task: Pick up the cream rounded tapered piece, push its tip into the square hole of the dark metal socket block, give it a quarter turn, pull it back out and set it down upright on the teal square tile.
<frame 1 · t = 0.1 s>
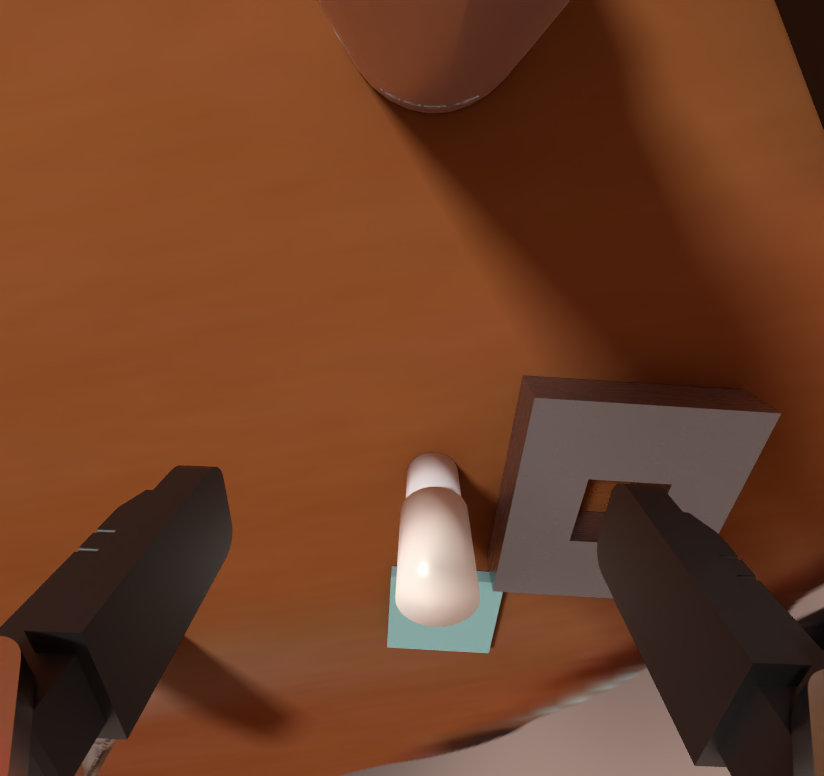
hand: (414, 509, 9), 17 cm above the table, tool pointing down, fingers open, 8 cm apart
teal square tile: (442, 606, 36), on the table
socket block: (600, 483, 30), on the table
cream rounded tapered piece: (432, 473, 30), on the table
coffee box: (118, 621, 38), on the table
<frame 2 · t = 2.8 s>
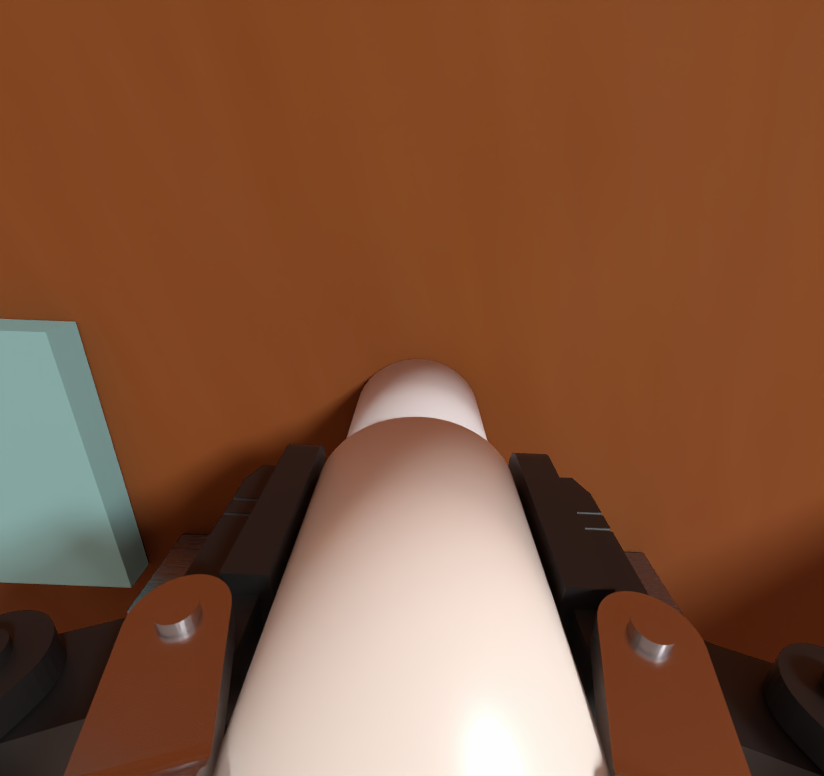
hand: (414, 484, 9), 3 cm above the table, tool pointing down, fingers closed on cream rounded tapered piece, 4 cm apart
socket block: (406, 671, 17), on the table
cream rounded tapered piece: (417, 415, 12), on the table, touching gripper
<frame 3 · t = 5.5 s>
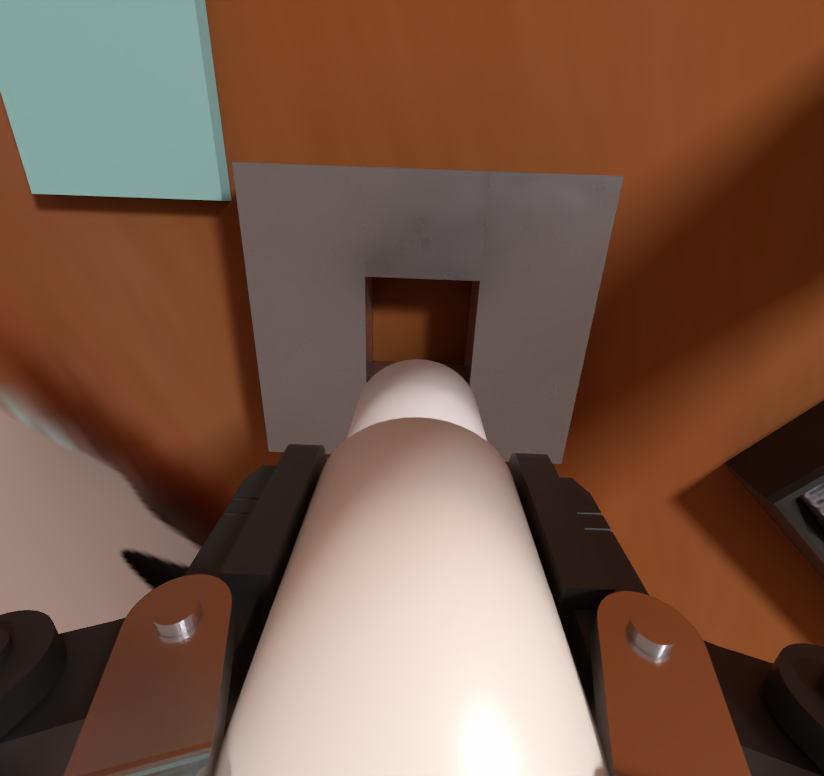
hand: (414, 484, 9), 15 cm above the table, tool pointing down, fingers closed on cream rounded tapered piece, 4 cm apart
teal square tile: (116, 86, 19), on the table
socket block: (420, 318, 23), on the table
cream rounded tapered piece: (417, 416, 12), point 11 cm above the table, touching gripper
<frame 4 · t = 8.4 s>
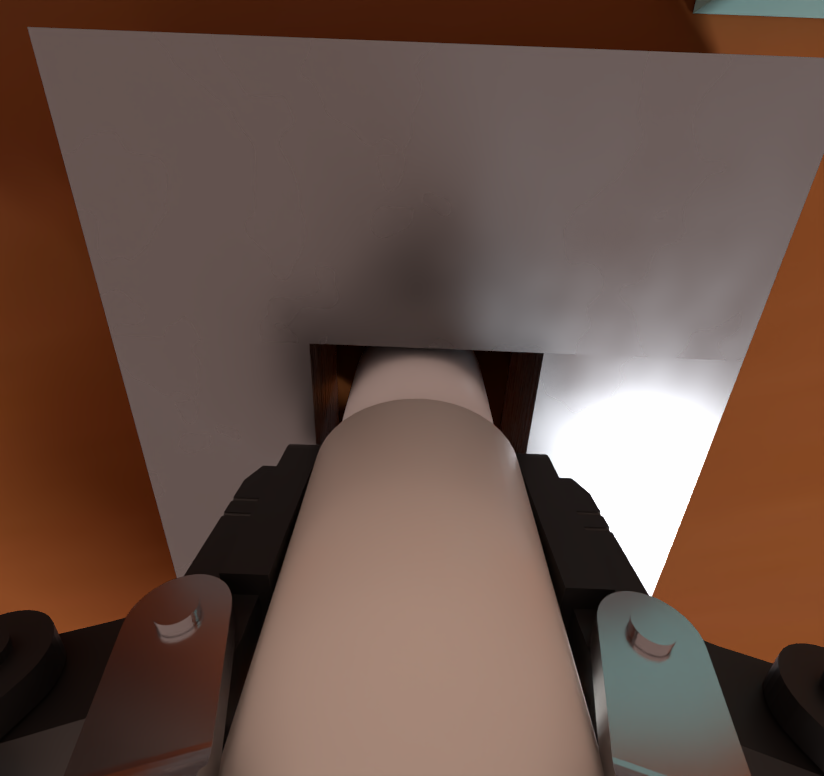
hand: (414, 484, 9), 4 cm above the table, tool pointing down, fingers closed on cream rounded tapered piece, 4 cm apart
socket block: (421, 395, 13), on the table
cream rounded tapered piece: (418, 381, 12), point 1 cm above the table, tilted 8°, touching gripper, socket block
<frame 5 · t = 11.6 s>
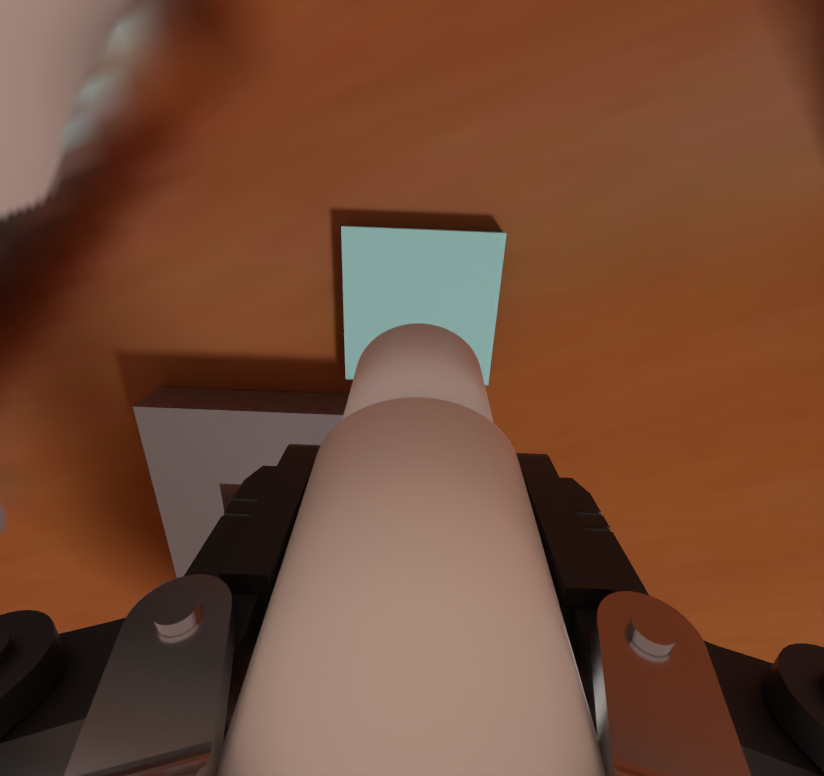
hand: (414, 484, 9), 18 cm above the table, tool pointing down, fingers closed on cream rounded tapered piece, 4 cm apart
teal square tile: (420, 307, 25), on the table
socket block: (277, 489, 31), on the table
cream rounded tapered piece: (418, 381, 12), point 14 cm above the table, tilted 8°, touching gripper
when the fingers open (5 cm above the table, at t = 14.3 s): cream rounded tapered piece stays where it is, resting on teal square tile.
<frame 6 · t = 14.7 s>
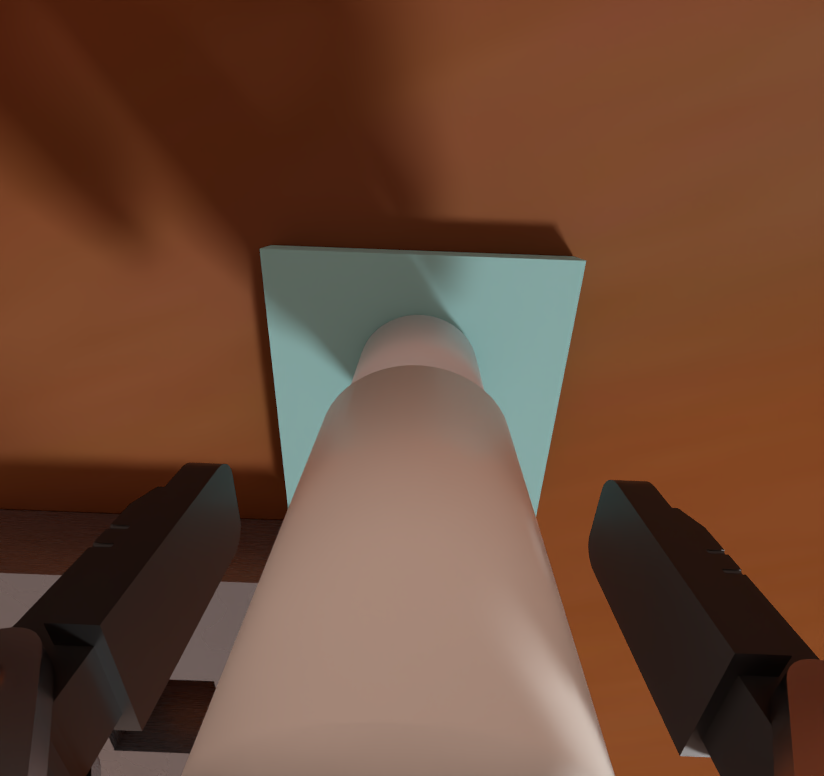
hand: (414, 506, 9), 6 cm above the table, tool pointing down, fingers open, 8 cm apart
teal square tile: (416, 388, 14), on the table
socket block: (196, 647, 20), on the table
cream rounded tapered piece: (418, 371, 13), point 1 cm above the table, touching teal square tile
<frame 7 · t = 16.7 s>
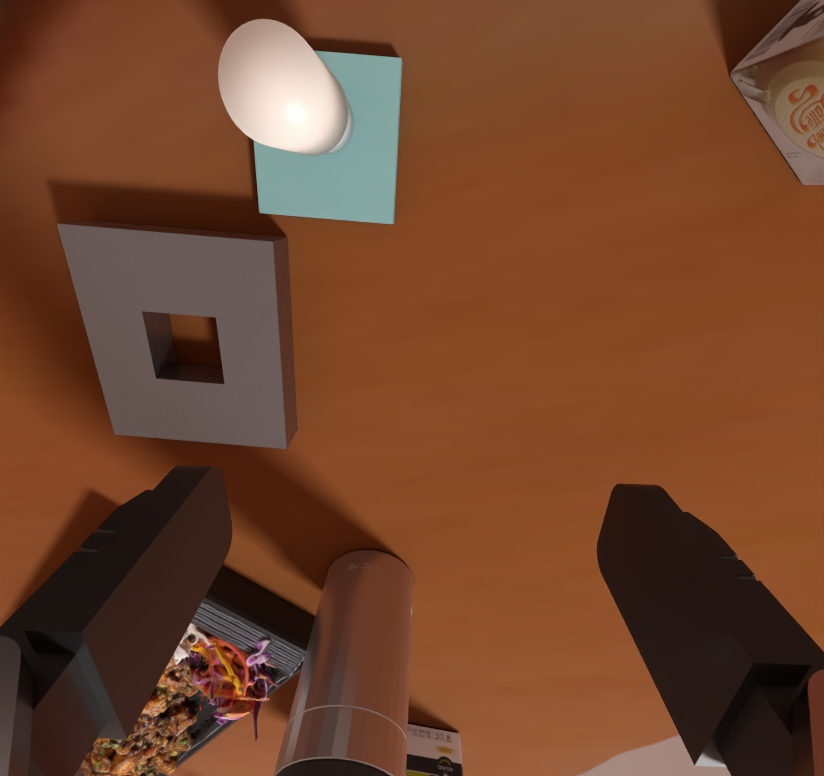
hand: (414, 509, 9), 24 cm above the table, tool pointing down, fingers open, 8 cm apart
teal square tile: (328, 142, 27), on the table
socket block: (204, 335, 33), on the table
tea box: (399, 737, 58), on the table
cream rounded tapered piece: (324, 120, 26), point 1 cm above the table, touching teal square tile
coffee box: (810, 87, 25), on the table
food platter: (147, 657, 53), on the table
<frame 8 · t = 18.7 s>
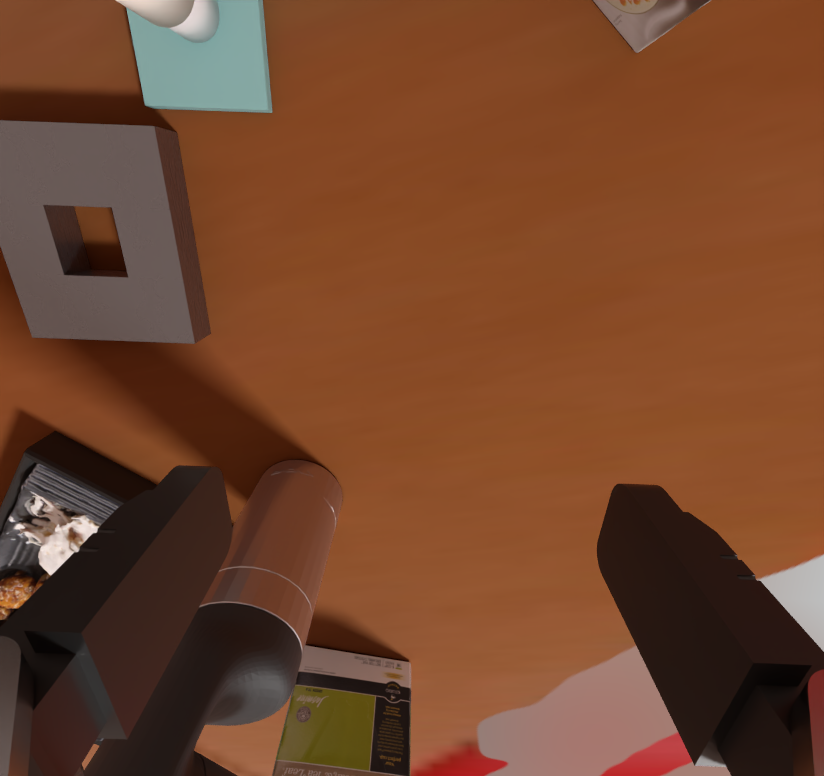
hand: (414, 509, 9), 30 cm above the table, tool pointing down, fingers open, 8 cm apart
teal square tile: (202, 35, 30), on the table
socket block: (112, 239, 35), on the table
tea box: (353, 671, 59), on the table
cream rounded tapered piece: (192, 9, 28), point 1 cm above the table, touching teal square tile
food platter: (99, 597, 55), on the table
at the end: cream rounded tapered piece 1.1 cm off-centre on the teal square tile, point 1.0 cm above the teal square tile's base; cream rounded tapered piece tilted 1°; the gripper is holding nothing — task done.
